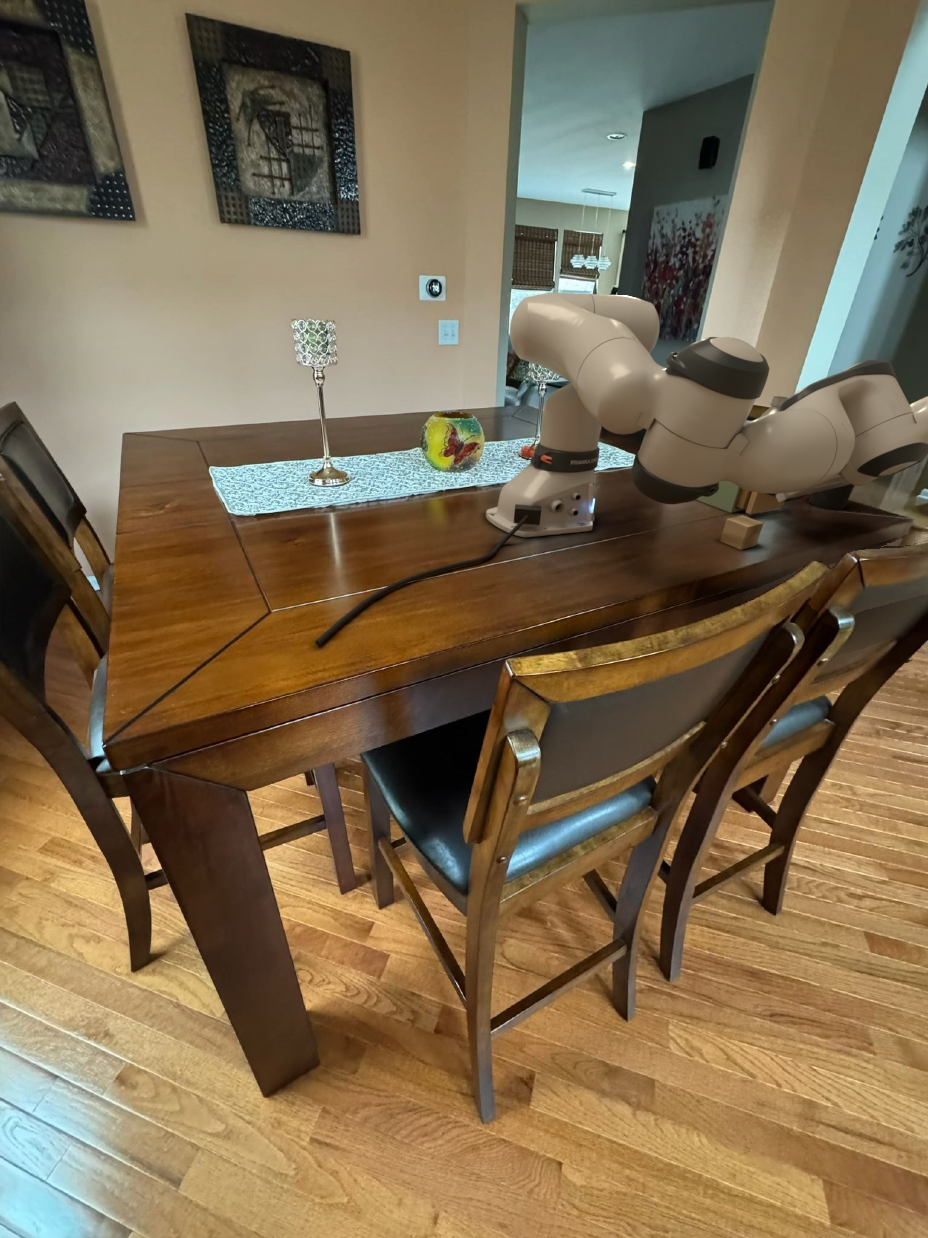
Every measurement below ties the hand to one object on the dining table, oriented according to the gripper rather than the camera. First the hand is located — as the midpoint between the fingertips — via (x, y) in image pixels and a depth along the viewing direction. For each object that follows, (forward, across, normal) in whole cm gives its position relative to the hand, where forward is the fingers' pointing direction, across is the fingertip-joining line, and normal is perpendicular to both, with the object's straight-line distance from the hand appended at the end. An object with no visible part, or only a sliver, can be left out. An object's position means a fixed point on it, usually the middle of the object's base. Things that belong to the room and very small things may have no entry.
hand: (789, 496), depth 110 cm
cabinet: (+14, 0, +7) cm, 16 cm away
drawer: (+9, 0, +2) cm, 9 cm away
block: (+1, -20, -7) cm, 21 cm away
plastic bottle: (+18, +21, +11) cm, 30 cm away
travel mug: (+5, +20, -2) cm, 21 cm away
